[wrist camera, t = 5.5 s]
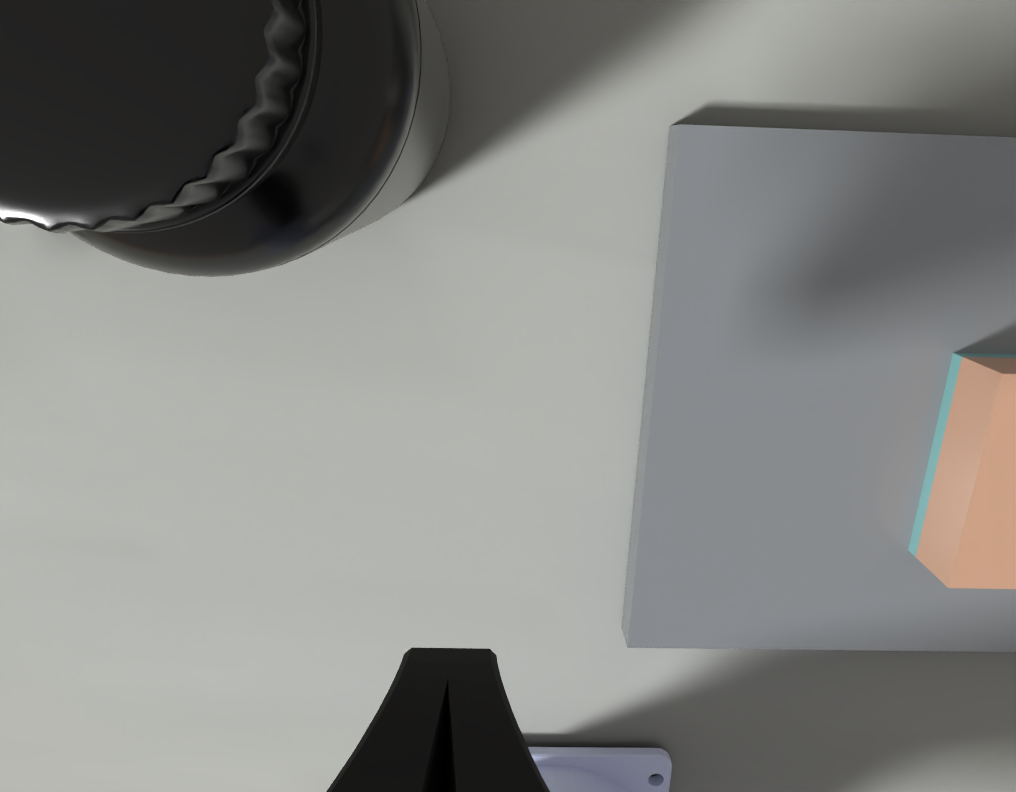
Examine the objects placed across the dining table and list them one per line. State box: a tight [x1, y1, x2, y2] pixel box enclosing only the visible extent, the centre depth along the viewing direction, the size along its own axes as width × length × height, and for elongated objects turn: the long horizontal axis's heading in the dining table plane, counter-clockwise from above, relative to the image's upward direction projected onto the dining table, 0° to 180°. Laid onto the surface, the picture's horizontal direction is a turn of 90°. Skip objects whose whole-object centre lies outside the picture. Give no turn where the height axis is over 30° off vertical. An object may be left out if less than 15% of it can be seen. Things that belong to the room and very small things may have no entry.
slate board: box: [622, 124, 1016, 652], centre depth 21 cm, size 15×18×1 cm
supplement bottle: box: [0, 0, 450, 277], centre depth 13 cm, size 7×7×12 cm
